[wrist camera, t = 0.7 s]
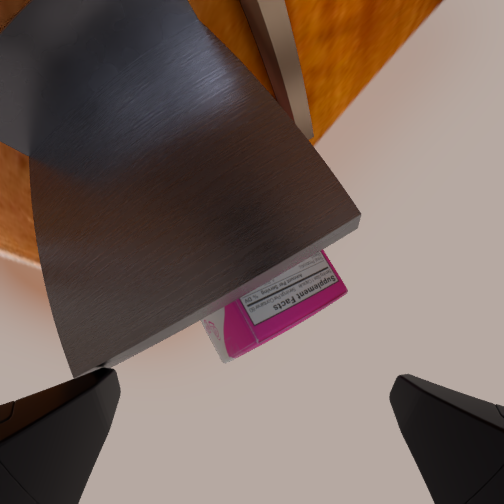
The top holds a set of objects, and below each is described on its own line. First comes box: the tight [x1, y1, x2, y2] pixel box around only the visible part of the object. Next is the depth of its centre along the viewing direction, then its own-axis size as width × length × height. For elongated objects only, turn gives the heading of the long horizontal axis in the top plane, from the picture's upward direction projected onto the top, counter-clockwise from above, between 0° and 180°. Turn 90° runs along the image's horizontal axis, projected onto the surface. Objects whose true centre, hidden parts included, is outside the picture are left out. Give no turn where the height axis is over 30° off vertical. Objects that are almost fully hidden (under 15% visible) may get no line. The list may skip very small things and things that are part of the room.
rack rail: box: [240, 0, 314, 140], centre depth 11 cm, size 15×1×2 cm, turn 18°
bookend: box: [0, 0, 361, 378], centre depth 6 cm, size 6×9×10 cm
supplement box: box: [201, 250, 348, 363], centre depth 17 cm, size 6×6×12 cm
